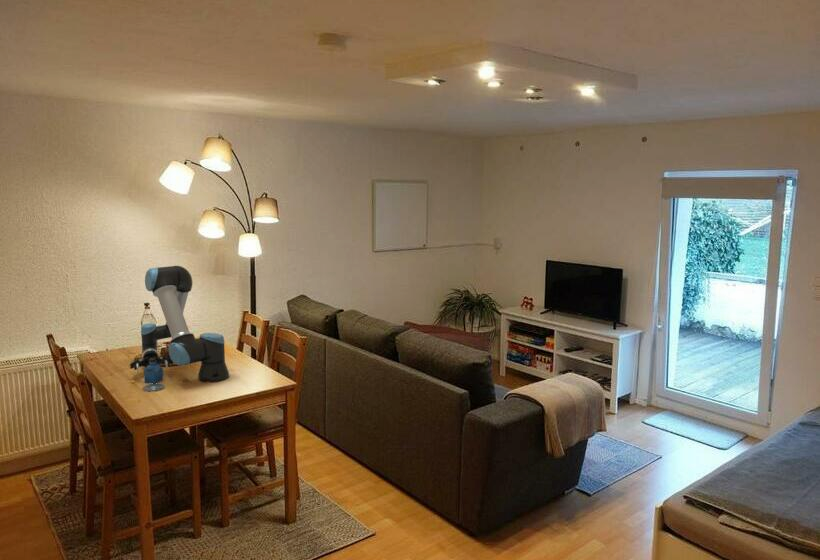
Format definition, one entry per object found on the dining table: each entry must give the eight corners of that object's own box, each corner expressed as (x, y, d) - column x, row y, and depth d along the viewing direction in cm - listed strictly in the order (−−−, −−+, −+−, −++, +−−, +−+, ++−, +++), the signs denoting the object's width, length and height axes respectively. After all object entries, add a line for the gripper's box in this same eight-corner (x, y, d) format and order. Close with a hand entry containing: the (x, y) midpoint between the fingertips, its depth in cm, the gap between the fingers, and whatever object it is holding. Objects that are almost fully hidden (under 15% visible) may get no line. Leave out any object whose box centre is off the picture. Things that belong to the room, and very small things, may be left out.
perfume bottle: (155, 384, 294) (154, 361, 292) (144, 383, 296) (143, 360, 294) (163, 380, 300) (161, 357, 298) (152, 379, 302) (151, 356, 300)
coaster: (169, 386, 291) (169, 385, 291) (154, 393, 282) (154, 391, 282) (152, 383, 295) (152, 382, 294) (137, 390, 285) (137, 389, 285)
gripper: (175, 360, 322) (179, 372, 304) (125, 366, 312) (125, 378, 293) (175, 347, 321) (178, 358, 302) (124, 352, 310) (124, 363, 292)
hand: (152, 368), depth 297 cm, fingers open, 13 cm apart
